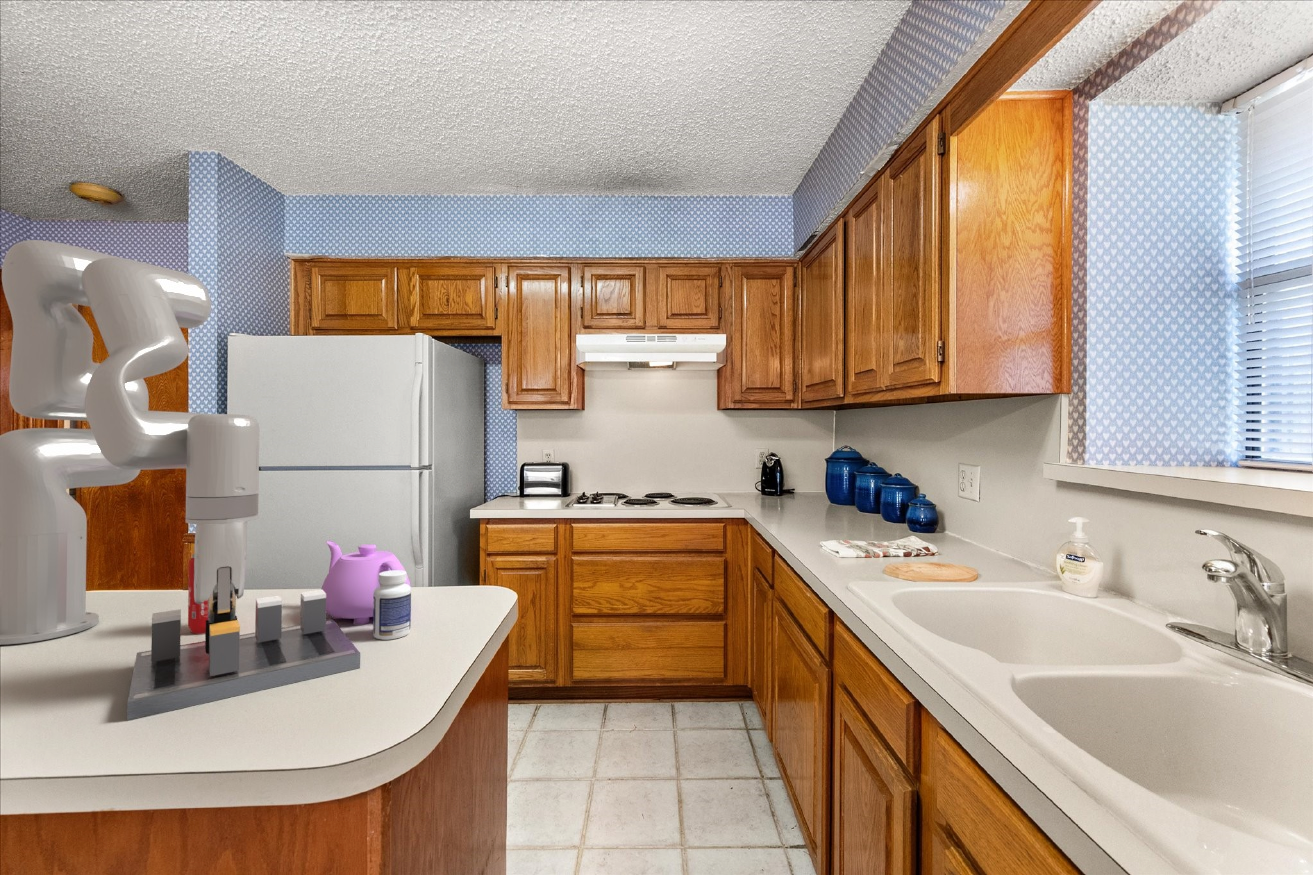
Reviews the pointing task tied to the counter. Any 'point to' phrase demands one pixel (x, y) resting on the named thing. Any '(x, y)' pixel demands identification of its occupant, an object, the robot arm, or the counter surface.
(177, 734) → the counter surface
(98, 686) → the counter surface
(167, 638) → the block
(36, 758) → the counter surface
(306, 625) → the breaker
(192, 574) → the beverage can
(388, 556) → the teapot
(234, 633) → the tripped breaker
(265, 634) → the breaker
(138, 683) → the panel
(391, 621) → the pill bottle
